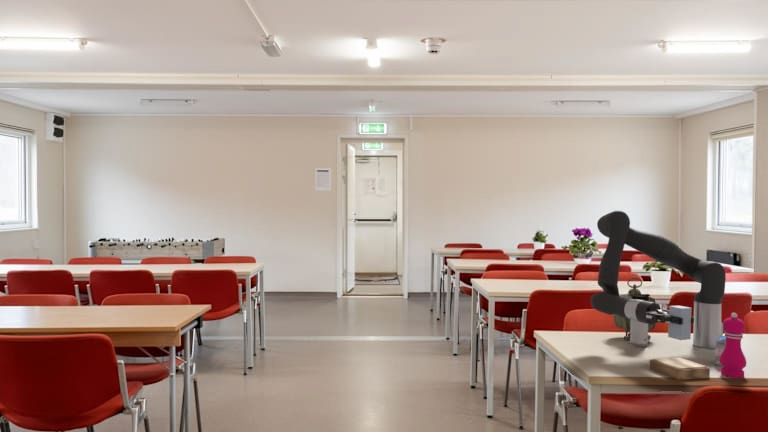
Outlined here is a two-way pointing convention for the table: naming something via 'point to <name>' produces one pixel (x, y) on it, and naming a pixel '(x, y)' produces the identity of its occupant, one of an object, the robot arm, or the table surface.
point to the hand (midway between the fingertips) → (687, 321)
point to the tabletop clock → (625, 322)
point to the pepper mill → (733, 348)
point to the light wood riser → (679, 368)
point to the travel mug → (639, 327)
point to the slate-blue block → (680, 330)
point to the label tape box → (719, 349)
